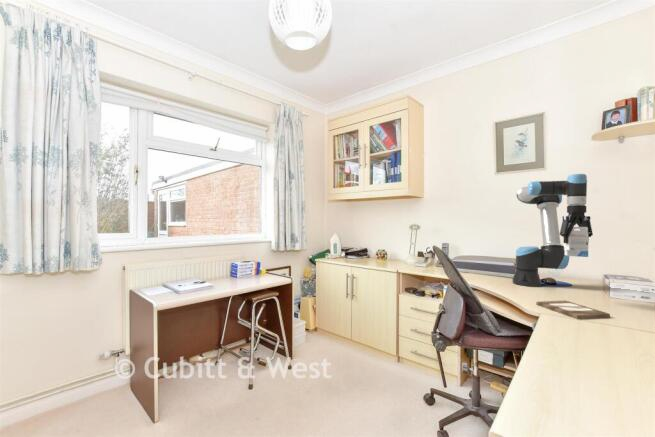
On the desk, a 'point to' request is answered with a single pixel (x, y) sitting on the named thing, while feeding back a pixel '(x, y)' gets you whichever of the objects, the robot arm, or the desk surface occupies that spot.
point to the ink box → (578, 242)
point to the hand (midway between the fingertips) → (575, 249)
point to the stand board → (573, 309)
